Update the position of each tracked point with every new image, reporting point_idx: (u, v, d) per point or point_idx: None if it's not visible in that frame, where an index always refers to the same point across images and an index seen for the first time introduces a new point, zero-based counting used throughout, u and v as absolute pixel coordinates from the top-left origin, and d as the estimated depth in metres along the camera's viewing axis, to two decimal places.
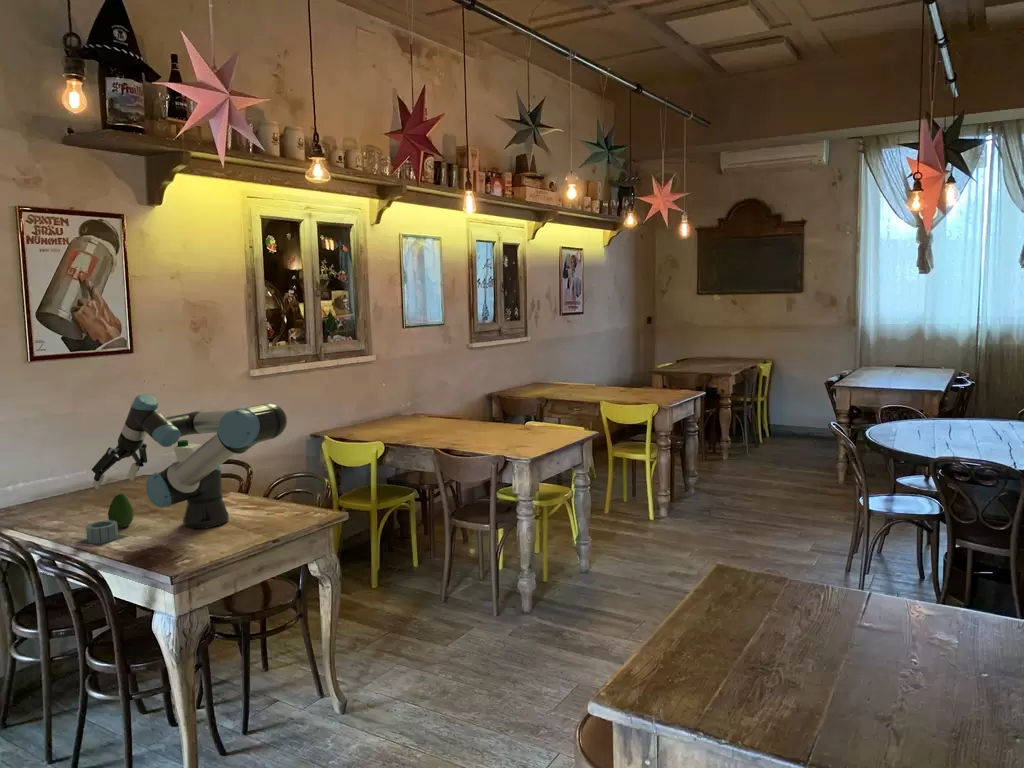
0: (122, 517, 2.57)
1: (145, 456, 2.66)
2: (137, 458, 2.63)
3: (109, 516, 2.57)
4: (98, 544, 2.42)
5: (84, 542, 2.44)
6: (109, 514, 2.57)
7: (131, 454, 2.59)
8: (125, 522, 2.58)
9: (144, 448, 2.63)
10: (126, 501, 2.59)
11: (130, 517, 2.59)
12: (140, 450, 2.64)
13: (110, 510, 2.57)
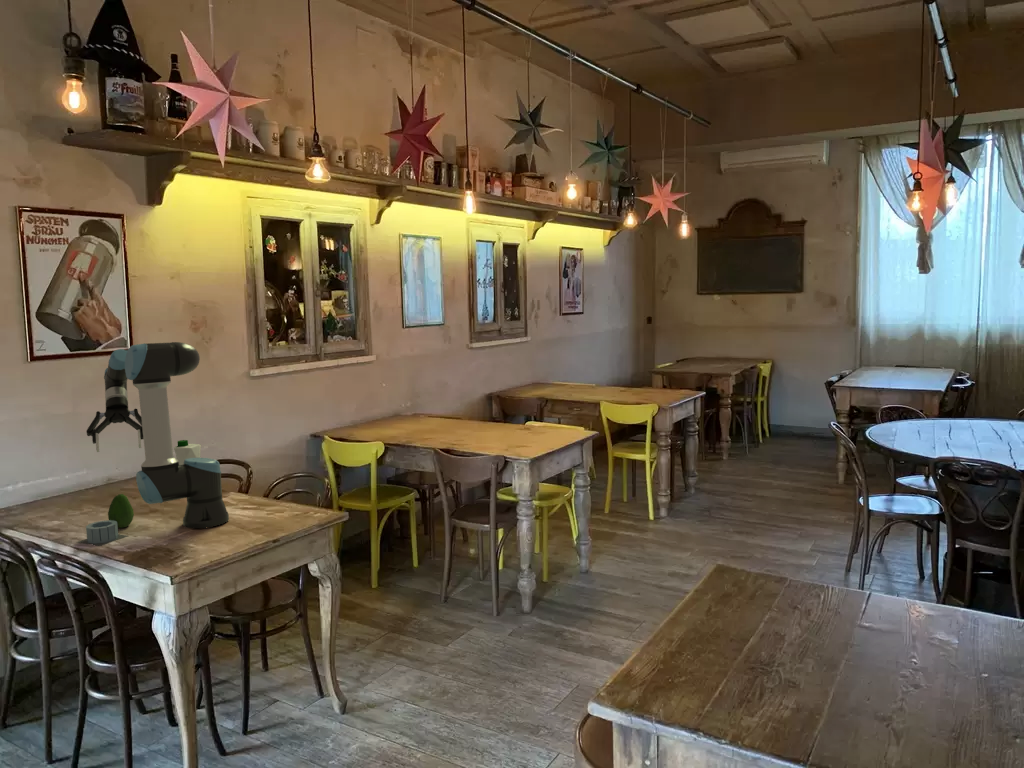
0: (122, 517, 2.57)
1: None
2: (132, 421, 2.77)
3: (109, 516, 2.57)
4: (98, 544, 2.42)
5: (84, 542, 2.44)
6: (109, 514, 2.57)
7: (122, 416, 2.77)
8: (125, 522, 2.58)
9: (136, 412, 2.80)
10: (126, 501, 2.59)
11: (130, 517, 2.59)
12: (136, 418, 2.80)
13: (110, 510, 2.57)
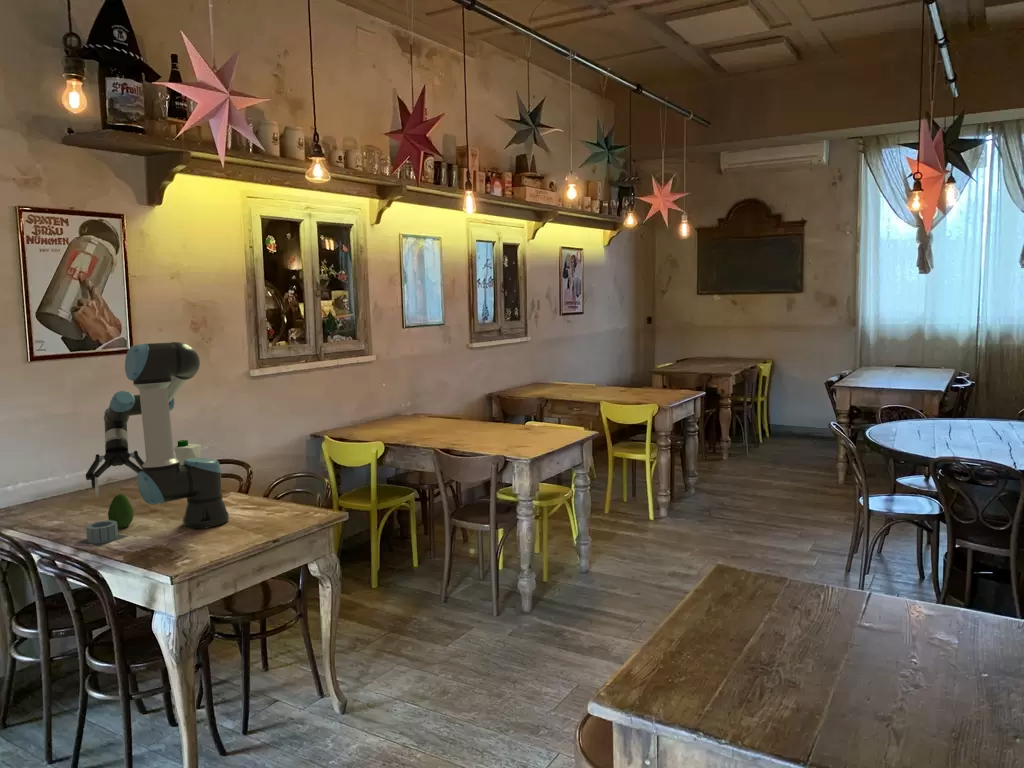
0: (122, 517, 2.57)
1: (142, 462, 2.74)
2: (132, 464, 2.72)
3: (109, 516, 2.57)
4: (98, 544, 2.42)
5: (84, 542, 2.44)
6: (109, 514, 2.57)
7: (122, 459, 2.72)
8: (125, 522, 2.58)
9: (136, 454, 2.75)
10: (126, 501, 2.59)
11: (130, 517, 2.59)
12: (136, 460, 2.75)
13: (110, 510, 2.57)
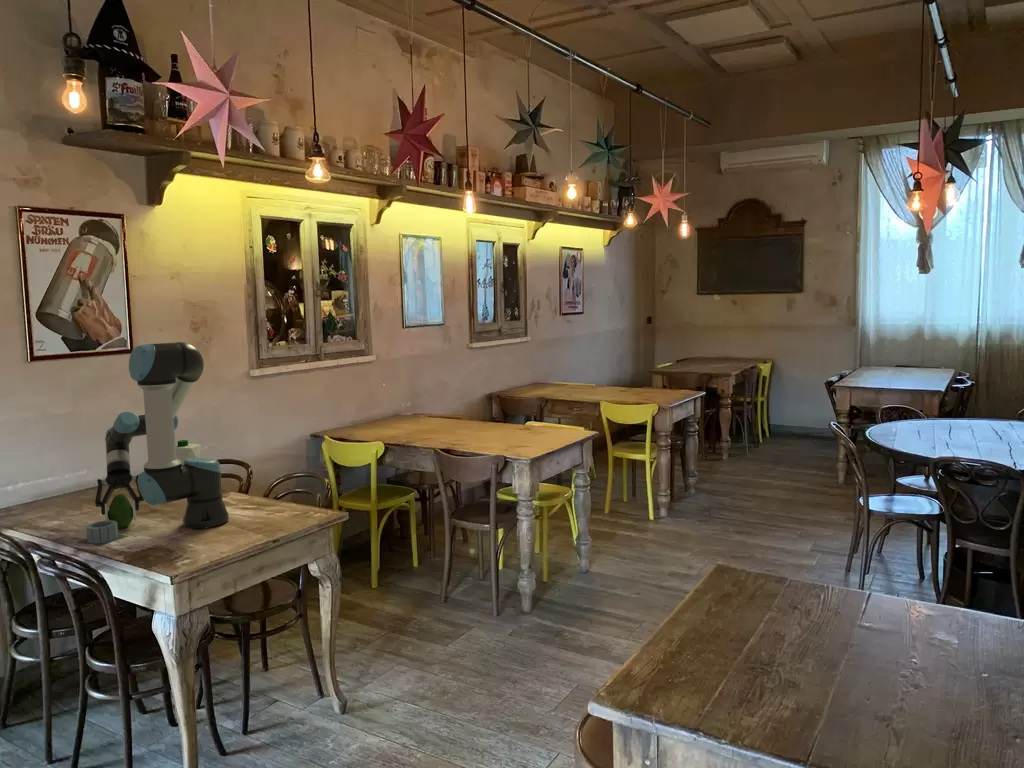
0: (122, 517, 2.57)
1: None
2: (130, 489, 2.64)
3: (109, 516, 2.57)
4: (98, 544, 2.42)
5: (84, 542, 2.44)
6: (109, 514, 2.57)
7: (122, 482, 2.65)
8: (125, 522, 2.58)
9: (137, 478, 2.67)
10: (126, 501, 2.59)
11: (130, 517, 2.59)
12: (136, 485, 2.67)
13: (110, 510, 2.57)
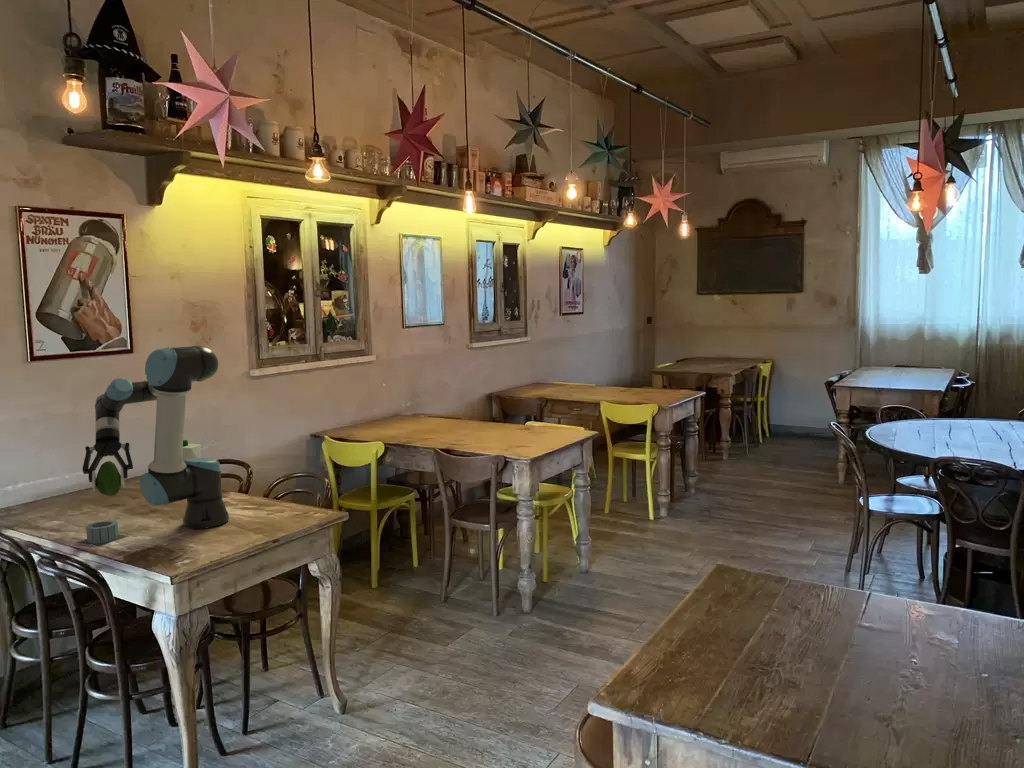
0: (109, 484, 2.51)
1: (129, 456, 2.59)
2: (119, 457, 2.58)
3: (96, 483, 2.51)
4: (98, 544, 2.42)
5: (84, 542, 2.44)
6: (96, 481, 2.51)
7: (111, 449, 2.59)
8: (113, 490, 2.52)
9: (126, 446, 2.61)
10: (114, 468, 2.53)
11: (118, 485, 2.53)
12: None
13: (97, 477, 2.51)
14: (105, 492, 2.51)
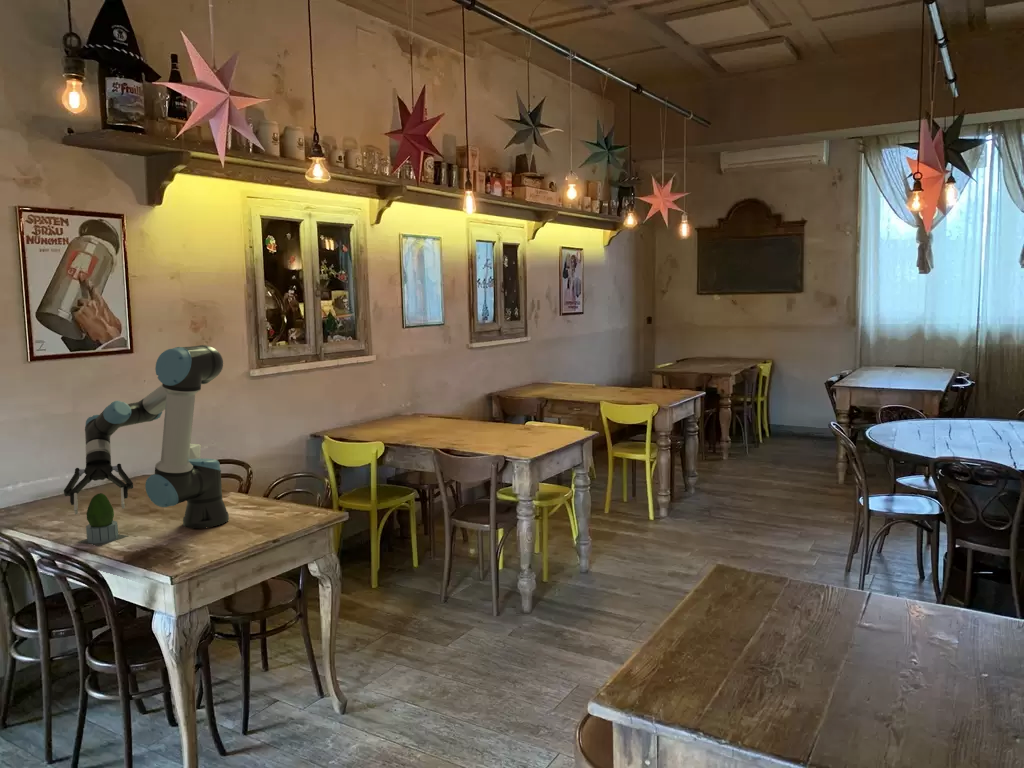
0: (103, 517, 2.43)
1: (126, 477, 2.53)
2: (115, 478, 2.51)
3: (88, 517, 2.43)
4: (98, 544, 2.42)
5: (84, 542, 2.44)
6: (88, 515, 2.43)
7: (104, 473, 2.51)
8: (106, 523, 2.45)
9: (119, 467, 2.54)
10: (106, 501, 2.46)
11: (111, 517, 2.46)
12: (120, 474, 2.54)
13: (89, 510, 2.43)
14: (98, 525, 2.44)
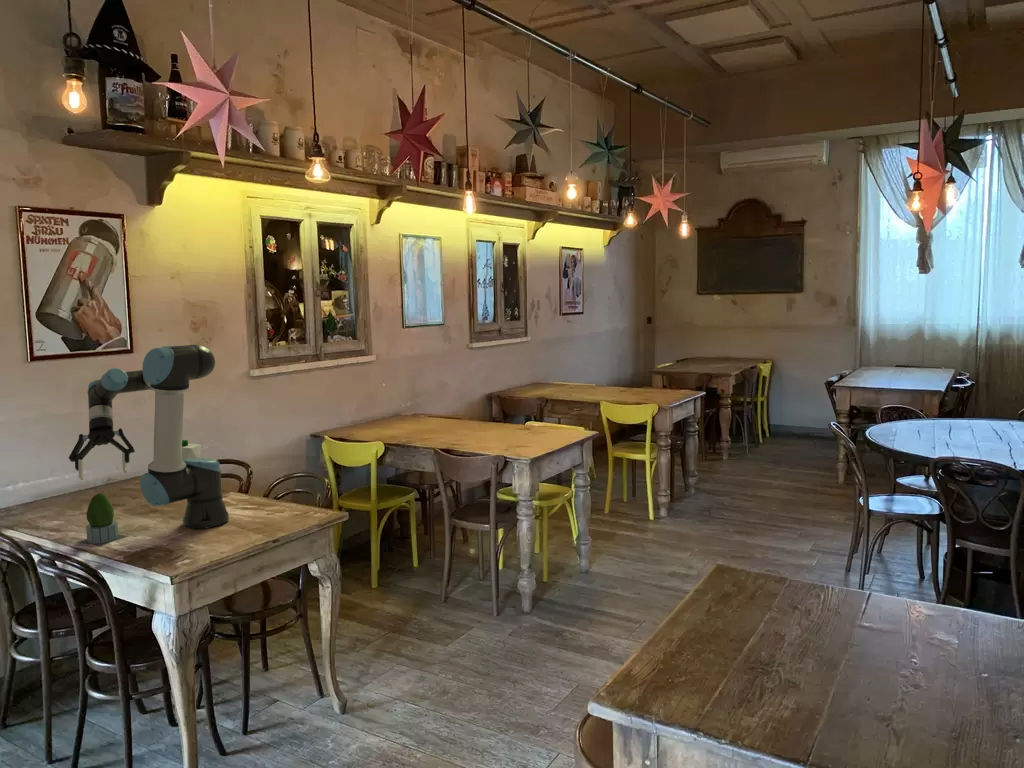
0: (103, 517, 2.43)
1: (127, 441, 2.63)
2: (117, 443, 2.62)
3: (88, 517, 2.43)
4: (98, 544, 2.42)
5: (84, 542, 2.44)
6: (88, 515, 2.43)
7: (106, 438, 2.62)
8: (106, 523, 2.45)
9: (120, 432, 2.64)
10: (106, 501, 2.46)
11: (111, 517, 2.46)
12: (122, 439, 2.64)
13: (89, 510, 2.43)
14: (98, 525, 2.44)
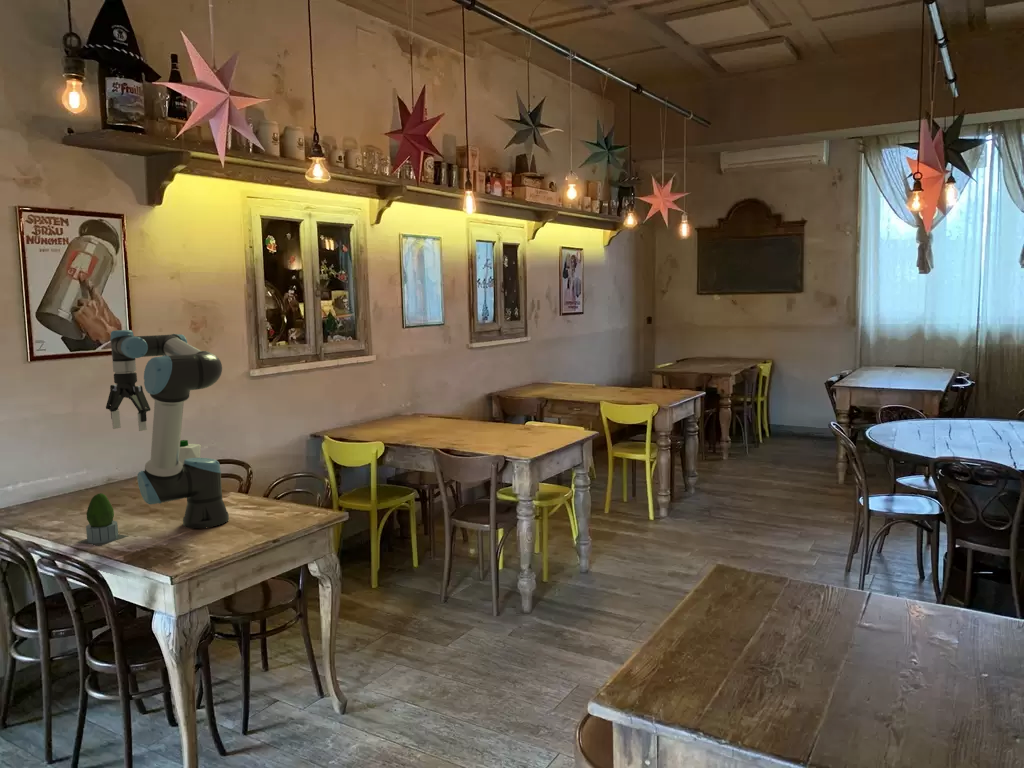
0: (103, 517, 2.43)
1: (140, 402, 2.69)
2: (134, 402, 2.71)
3: (88, 517, 2.43)
4: (98, 544, 2.42)
5: (84, 542, 2.44)
6: (88, 515, 2.43)
7: None
8: (106, 523, 2.45)
9: (135, 390, 2.70)
10: (106, 501, 2.46)
11: (111, 517, 2.46)
12: None
13: (89, 510, 2.43)
14: (98, 525, 2.44)
